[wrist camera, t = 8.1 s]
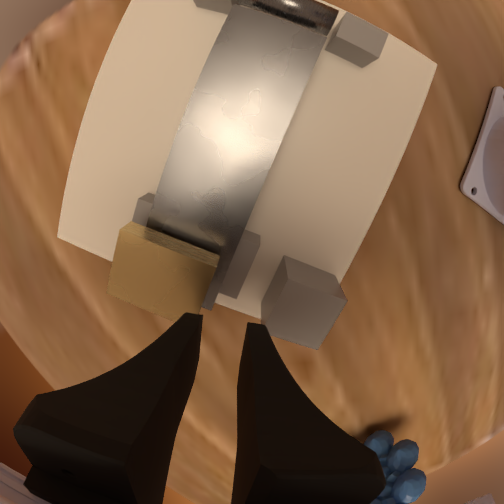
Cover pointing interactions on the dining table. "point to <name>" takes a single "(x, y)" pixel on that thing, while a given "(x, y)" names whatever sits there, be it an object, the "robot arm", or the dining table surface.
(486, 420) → the dining table surface
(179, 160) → the strap
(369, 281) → the dining table surface
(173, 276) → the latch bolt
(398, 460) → the grapes
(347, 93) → the latch base plate
